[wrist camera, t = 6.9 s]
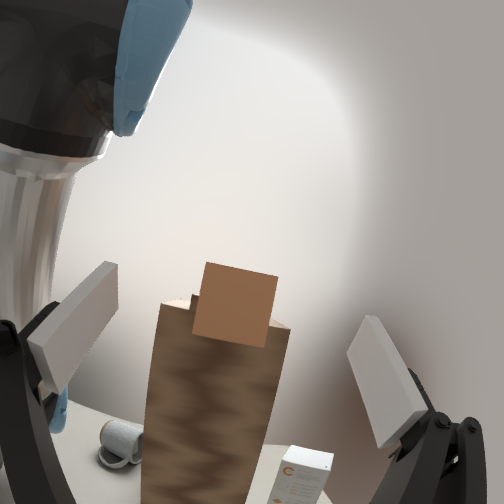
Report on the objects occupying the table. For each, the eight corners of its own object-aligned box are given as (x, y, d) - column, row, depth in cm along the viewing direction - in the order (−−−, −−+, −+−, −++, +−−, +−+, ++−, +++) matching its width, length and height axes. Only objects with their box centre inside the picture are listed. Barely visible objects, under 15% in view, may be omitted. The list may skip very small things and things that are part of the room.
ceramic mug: (115, 439, 43) (115, 411, 44) (148, 453, 42) (150, 426, 43) (89, 458, 33) (87, 429, 34) (125, 478, 32) (125, 449, 33)
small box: (314, 501, 34) (335, 453, 36) (307, 520, 28) (331, 470, 30) (274, 492, 37) (291, 443, 39) (263, 509, 32) (281, 459, 34)
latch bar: (191, 333, 11) (206, 261, 11) (213, 303, 34) (217, 280, 35) (263, 347, 11) (278, 276, 11) (236, 308, 35) (241, 285, 35)
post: (143, 557, 14) (164, 287, 20) (154, 516, 24) (182, 288, 30) (220, 570, 15) (293, 314, 21) (218, 527, 25) (271, 306, 31)
